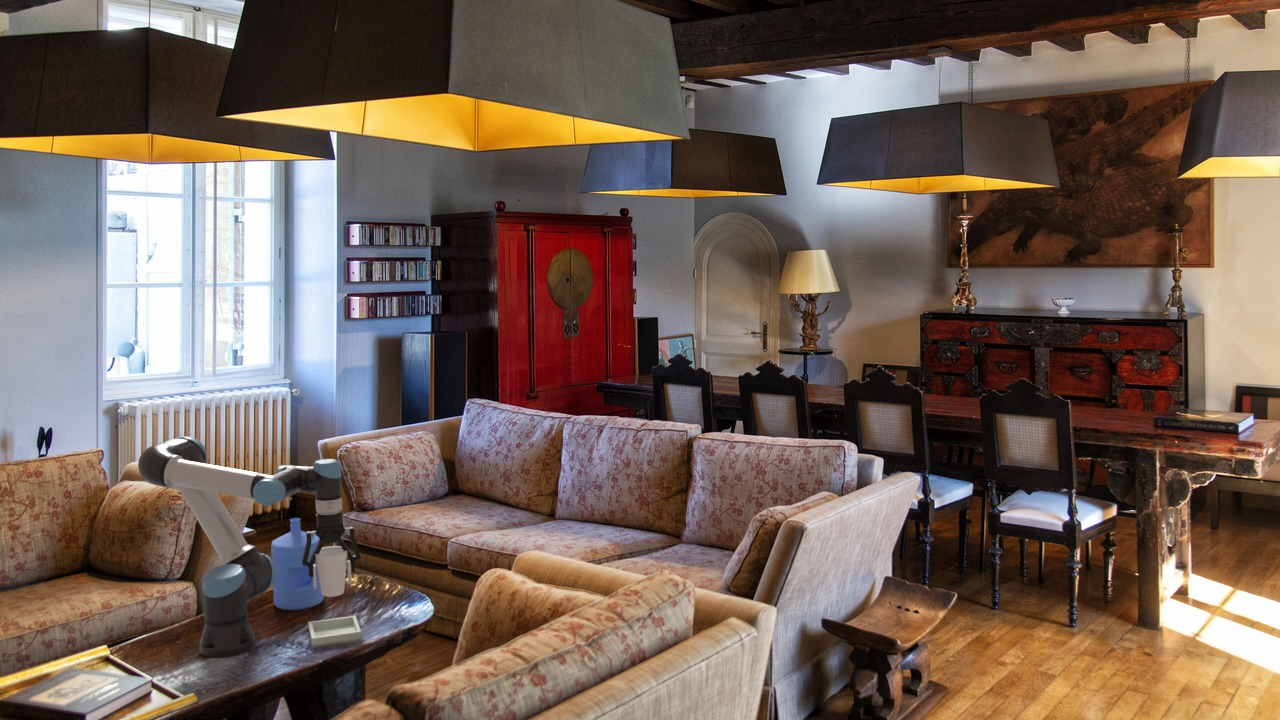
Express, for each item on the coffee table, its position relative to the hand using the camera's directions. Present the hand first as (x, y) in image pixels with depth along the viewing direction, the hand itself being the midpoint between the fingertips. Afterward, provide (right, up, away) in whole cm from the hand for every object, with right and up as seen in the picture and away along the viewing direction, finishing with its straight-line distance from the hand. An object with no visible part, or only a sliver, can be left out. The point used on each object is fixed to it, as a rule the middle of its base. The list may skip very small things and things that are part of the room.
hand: (332, 584), depth 317 cm
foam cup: (0, -3, 0) cm, 3 cm away
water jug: (-20, -12, +31) cm, 39 cm away
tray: (0, -16, +2) cm, 16 cm away
